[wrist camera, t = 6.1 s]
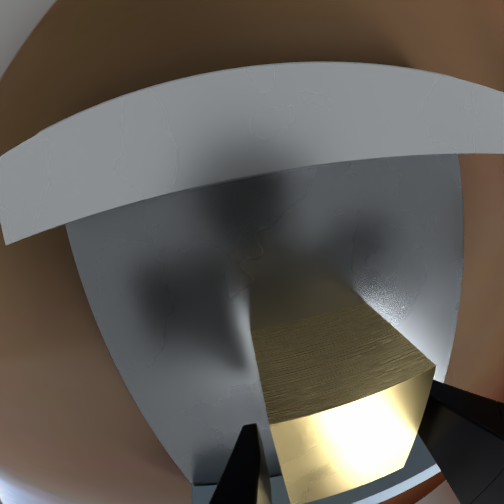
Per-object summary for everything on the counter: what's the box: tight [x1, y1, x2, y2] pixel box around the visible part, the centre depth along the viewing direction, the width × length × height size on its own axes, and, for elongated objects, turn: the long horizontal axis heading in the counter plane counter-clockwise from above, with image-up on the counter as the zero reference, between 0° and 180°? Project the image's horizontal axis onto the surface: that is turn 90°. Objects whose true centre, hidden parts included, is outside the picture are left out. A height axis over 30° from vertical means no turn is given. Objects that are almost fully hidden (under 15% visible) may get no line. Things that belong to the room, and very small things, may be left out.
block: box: [251, 303, 436, 504], centre depth 7 cm, size 5×4×4 cm
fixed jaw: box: [0, 62, 504, 245], centre depth 6 cm, size 3×14×3 cm, turn 101°
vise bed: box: [65, 155, 464, 486], centre depth 10 cm, size 21×14×1 cm, turn 11°
